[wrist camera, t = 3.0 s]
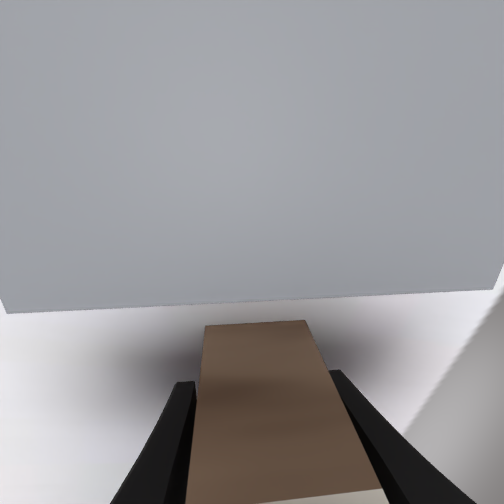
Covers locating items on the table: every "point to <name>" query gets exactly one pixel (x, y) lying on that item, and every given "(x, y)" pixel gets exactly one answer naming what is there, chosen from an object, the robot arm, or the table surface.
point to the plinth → (248, 150)
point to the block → (273, 423)
